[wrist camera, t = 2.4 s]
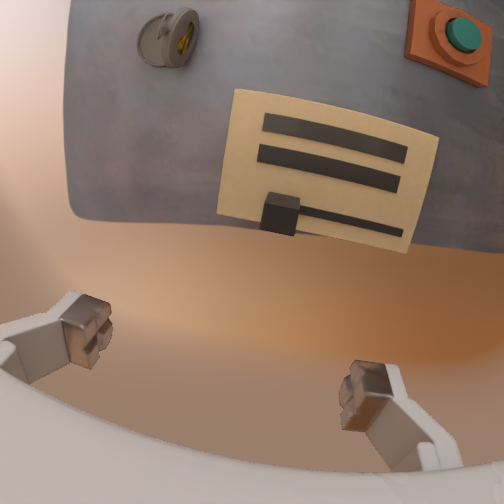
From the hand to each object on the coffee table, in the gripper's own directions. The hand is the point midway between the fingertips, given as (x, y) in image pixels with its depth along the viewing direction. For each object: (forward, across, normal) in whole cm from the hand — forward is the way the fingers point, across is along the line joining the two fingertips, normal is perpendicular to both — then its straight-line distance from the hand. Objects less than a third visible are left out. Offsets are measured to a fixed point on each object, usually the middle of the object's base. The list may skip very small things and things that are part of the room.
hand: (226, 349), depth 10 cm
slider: (+16, -1, 0) cm, 16 cm away
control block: (+27, -16, -22) cm, 38 cm away
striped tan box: (+28, -4, -4) cm, 28 cm away
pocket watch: (+28, +14, -14) cm, 34 cm away
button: (+24, -16, -22) cm, 36 cm away
